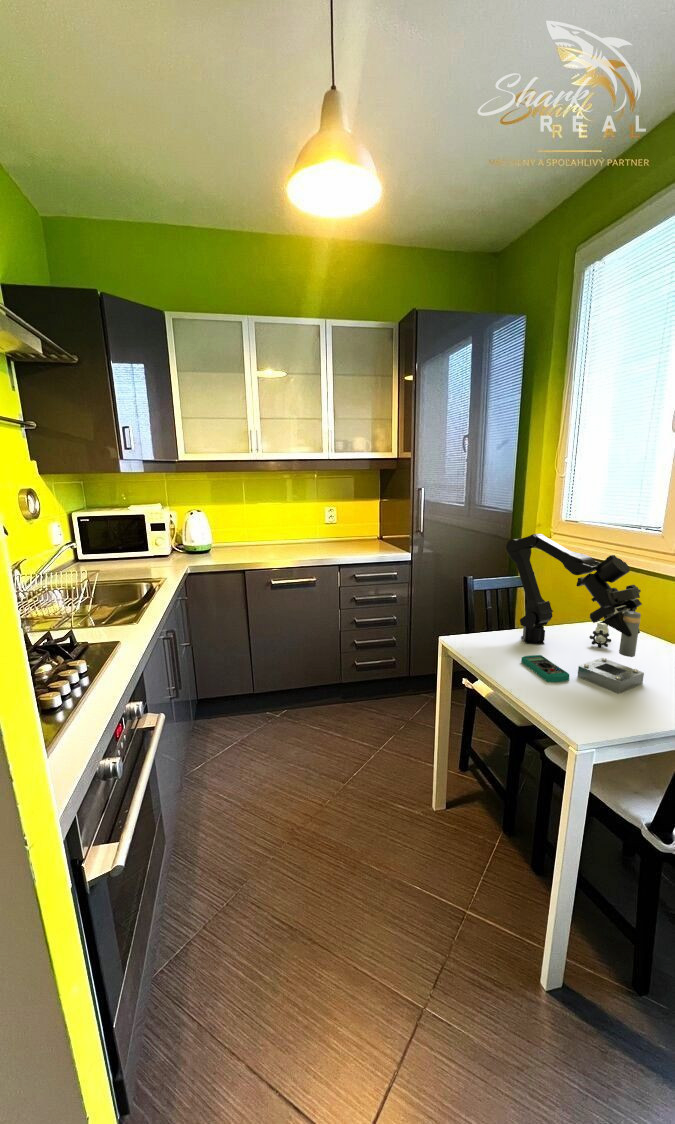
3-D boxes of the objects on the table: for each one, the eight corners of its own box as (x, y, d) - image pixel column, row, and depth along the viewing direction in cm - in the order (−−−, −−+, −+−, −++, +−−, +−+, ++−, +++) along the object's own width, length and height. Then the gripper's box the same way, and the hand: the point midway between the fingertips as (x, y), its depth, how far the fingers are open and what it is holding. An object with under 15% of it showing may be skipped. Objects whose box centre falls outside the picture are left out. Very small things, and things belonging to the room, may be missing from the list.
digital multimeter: (547, 684, 125) (548, 675, 124) (520, 663, 139) (520, 654, 138) (570, 682, 126) (571, 673, 125) (540, 661, 140) (541, 653, 139)
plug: (623, 656, 126) (629, 615, 123) (616, 651, 130) (621, 610, 127) (638, 657, 125) (644, 615, 123) (630, 651, 129) (636, 611, 127)
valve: (591, 635, 161) (588, 646, 152) (593, 619, 160) (590, 628, 150) (611, 639, 158) (610, 650, 148) (613, 622, 156) (612, 632, 147)
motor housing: (577, 676, 128) (578, 664, 127) (601, 668, 134) (602, 656, 133) (618, 693, 118) (620, 680, 117) (642, 683, 123) (644, 670, 122)
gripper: (604, 580, 122) (641, 628, 115) (638, 573, 131) (675, 616, 124) (575, 600, 130) (608, 645, 123) (609, 591, 139) (642, 633, 132)
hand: (634, 634), depth 125 cm, fingers closed on plug, 4 cm apart
